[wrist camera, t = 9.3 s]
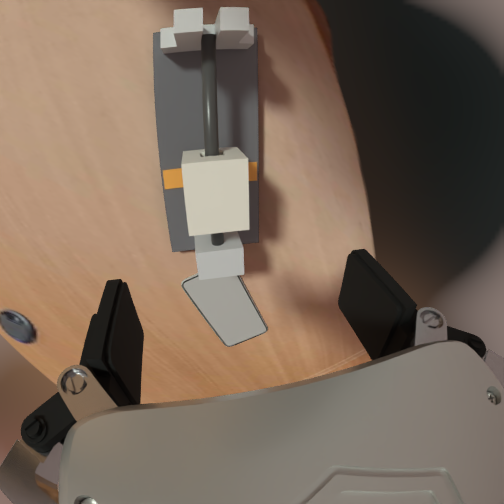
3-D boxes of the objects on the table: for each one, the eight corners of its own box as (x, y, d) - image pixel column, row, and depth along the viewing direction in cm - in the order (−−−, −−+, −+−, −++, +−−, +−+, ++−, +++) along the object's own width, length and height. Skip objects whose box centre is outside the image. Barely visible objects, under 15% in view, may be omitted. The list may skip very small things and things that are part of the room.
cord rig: (155, 36, 21) (139, 9, 13) (254, 30, 22) (281, 4, 14) (172, 245, 33) (170, 296, 25) (255, 236, 34) (277, 282, 26)
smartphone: (226, 348, 43) (178, 283, 35) (226, 345, 44) (178, 280, 36) (269, 331, 43) (231, 259, 35) (268, 328, 44) (230, 256, 36)
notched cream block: (183, 151, 24) (181, 164, 20) (236, 146, 25) (248, 158, 21) (188, 210, 28) (189, 236, 23) (238, 205, 28) (249, 229, 24)
